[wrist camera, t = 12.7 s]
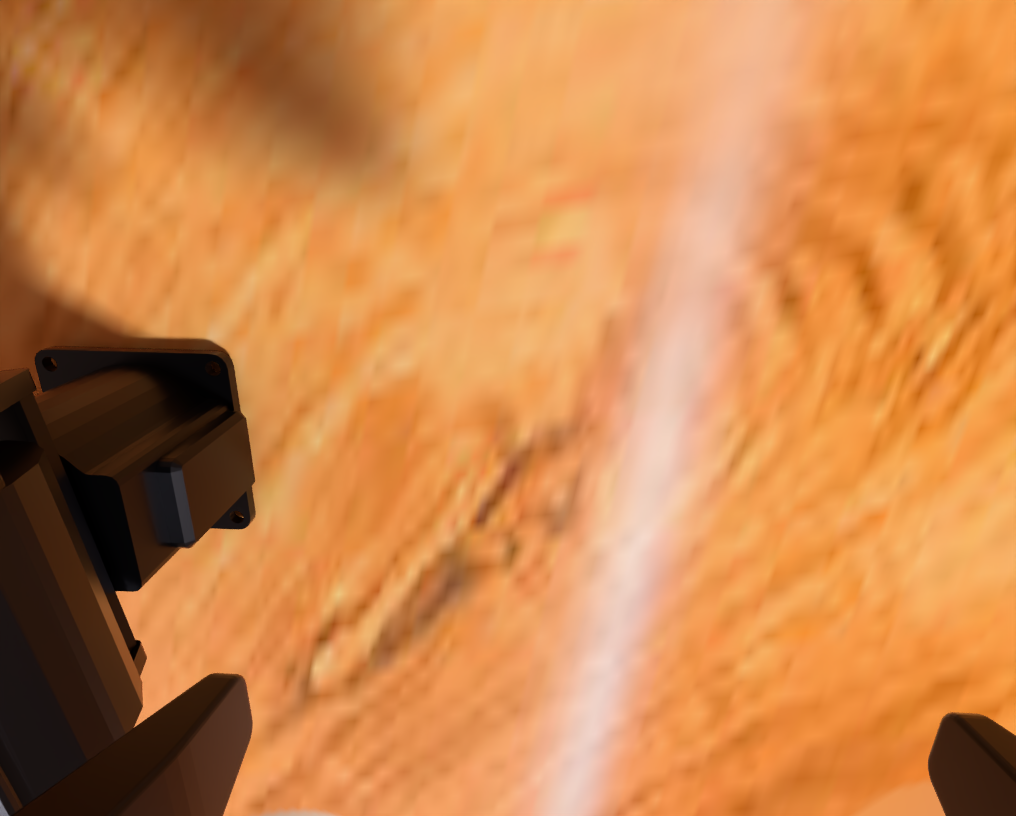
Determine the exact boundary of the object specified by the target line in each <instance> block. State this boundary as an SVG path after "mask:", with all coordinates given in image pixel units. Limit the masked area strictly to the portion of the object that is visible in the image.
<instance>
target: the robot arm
mask: <svg viewBox="0 0 1016 816" xmlns="http://www.w3.org/2000/svg"><path fill="white" fill-rule="evenodd" d="M51 358H53V359H54V360H55V361H56V363H57V367H56V366H55V365H53V363H52V361H51ZM212 361H213V362H216V363H217V364H218V365H219V366H220V369H221V370H220V373H219V372H216V371H215V370H214V369H213V368H212V366H211V363H212ZM35 365H36V369H37V372H38V376H39V380H40V384H41V388H42V391H43V393H40V394H38V395H36V396H34V395H33V392H34V391H35V390H36V386H35V384H34V381H33V379H32V376H31V374H30V372H29V369H28V368H22V369H13V370H5V371H0V816H223V814H224V811H225V808H226V806H227V803H228V800H229V797H230V794H231V792H232V789H233V786H234V783H235V781H236V778H237V775H238V772H239V769H240V767H241V764H242V761H243V758H244V755H245V753H246V750H247V747H248V744H249V741H250V738H251V734H252V715H251V709H250V703H249V697H248V692H247V686H246V682H245V679H244V678H243V677H242V676H241V675H238V674H223V673H214V674H210V675H208V676H206V677H205V678H203V679H202V680H201V681H199V682H198V683H196V684H195V685H193V686H192V687H191V688H189V689H188V690H186V691H185V692H184V693H182V694H181V695H179V696H178V697H177V698H175V699H174V700H172V701H171V702H170V703H168V704H167V705H165V706H164V707H163V708H161V709H160V710H158V711H157V712H156V713H154V714H153V715H151V716H150V717H149V718H147V719H146V720H144V721H143V722H142V723H140V724H139V725H137V726H136V727H135V728H134V726H135V723H136V721H137V719H138V716H139V714H140V712H141V710H142V707H143V697H142V681H141V678H140V675H141V673H142V670H143V667H144V665H145V662H146V659H147V656H146V653H145V651H144V649H143V646H142V644H141V642H140V641H139V640H135V638H134V636H133V633H132V631H131V629H130V626H129V624H128V621H127V619H126V617H125V614H124V612H123V609H122V607H121V604H120V602H119V600H118V597H117V595H116V592H115V591H132V592H133V591H138V590H139V589H140V588H141V587H142V586H143V585H144V584H145V583H146V582H147V581H148V580H149V579H150V578H151V577H152V576H153V575H154V574H155V573H156V572H157V571H158V570H159V569H160V568H161V567H162V566H163V565H164V564H165V563H166V562H167V561H168V560H169V559H170V558H171V557H172V556H173V555H174V554H175V553H176V552H177V551H178V550H179V549H180V548H191V547H192V546H193V545H194V544H195V543H196V542H197V541H198V540H199V539H200V538H201V537H202V536H203V535H204V534H205V533H206V532H207V531H208V530H209V529H210V528H218V529H244V528H246V527H247V526H248V525H249V524H250V523H251V522H252V521H253V519H254V518H255V506H254V499H253V492H252V485H253V483H254V482H255V476H254V470H253V463H252V456H251V449H250V442H249V435H248V428H247V422H246V418H245V416H244V415H243V414H242V413H241V411H240V405H239V398H238V391H237V384H236V378H235V371H234V365H233V362H232V360H231V359H230V357H229V356H228V355H227V354H225V353H223V352H220V351H210V350H173V349H135V348H98V347H61V346H54V347H49V348H46V349H43V350H41V351H39V352H38V353H37V354H36V357H35ZM235 511H239V512H240V513H242V514H243V517H244V518H242V517H239V516H238V515H236V512H235ZM928 771H929V775H930V779H931V782H932V785H933V787H934V789H935V792H936V794H937V796H938V799H939V801H940V803H941V806H942V808H943V810H944V813H945V815H946V816H1016V736H1015V735H1014V734H1012V733H1011V732H1009V731H1008V730H1006V729H1005V728H1003V727H1002V726H1000V725H999V724H997V723H996V722H994V721H993V720H991V719H990V718H988V717H986V716H984V715H980V714H972V713H953V712H952V713H948V714H946V715H945V716H944V717H943V718H942V720H941V723H940V726H939V729H938V732H937V734H936V737H935V740H934V743H933V746H932V749H931V752H930V755H929V759H928Z"/></svg>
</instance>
